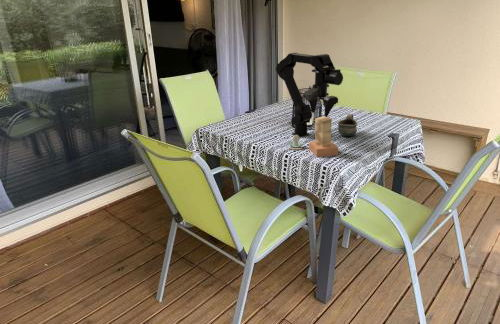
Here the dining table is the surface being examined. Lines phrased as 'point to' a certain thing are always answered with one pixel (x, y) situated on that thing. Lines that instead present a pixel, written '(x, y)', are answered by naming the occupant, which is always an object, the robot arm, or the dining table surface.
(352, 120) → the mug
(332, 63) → the robot arm
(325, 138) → the birch block
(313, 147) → the terracotta block
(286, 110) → the dining table surface
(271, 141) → the dining table surface
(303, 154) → the dining table surface
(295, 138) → the pacifier
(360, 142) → the dining table surface
